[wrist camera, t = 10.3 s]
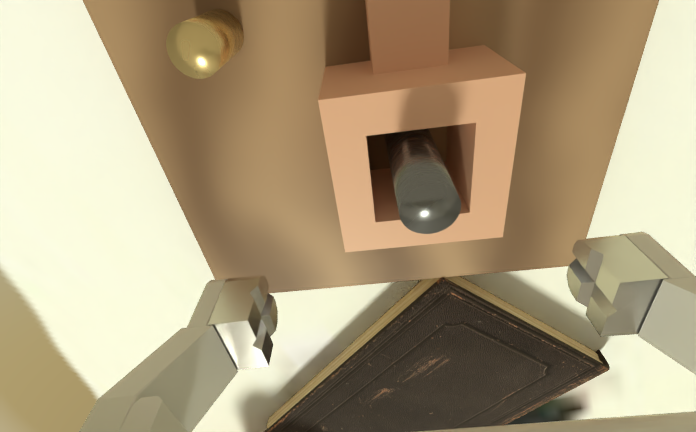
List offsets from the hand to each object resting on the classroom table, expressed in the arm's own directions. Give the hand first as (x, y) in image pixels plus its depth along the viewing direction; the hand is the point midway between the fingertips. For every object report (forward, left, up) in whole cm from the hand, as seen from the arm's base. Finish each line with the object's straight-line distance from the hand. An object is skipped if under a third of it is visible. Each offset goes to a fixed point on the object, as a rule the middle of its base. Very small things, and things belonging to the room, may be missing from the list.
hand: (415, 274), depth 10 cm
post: (-1, -1, -8) cm, 8 cm away
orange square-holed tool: (-1, -4, -8) cm, 9 cm away
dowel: (+6, -6, -8) cm, 11 cm away
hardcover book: (-1, +22, -10) cm, 24 cm away
